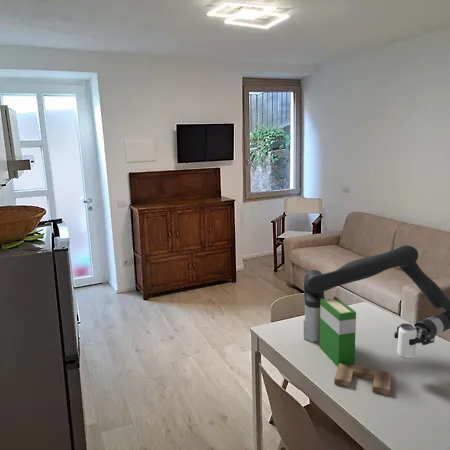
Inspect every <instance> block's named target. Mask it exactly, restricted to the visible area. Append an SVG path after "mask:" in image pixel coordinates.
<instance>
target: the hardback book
mask: <svg viewBox="0 0 450 450" xmlns="http://www.w3.org/2000/svg"><path fill="white" fill-rule="evenodd" d="M356 327H357V311H356V310H354V309H353V308H352V307H350V306H349V305H348V304H346V303H345V302H344V301H342V300H341V299H339V298H338V297H337V296H333V298H330V299H329V298H328V299H325V300H324V299H323V298H320V342H319V349H320V350H321V351H322V352H323V353H324V354H325V355H326V356H327V358H328V359H330V361H331V360H332V363H333V364H334V365H335V366H336V367H337V368H338V365H339V363H342V364H348V365H353V366H355V358H356V357H355V356H356V330H357V328H356Z"/></svg>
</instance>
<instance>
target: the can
mask: <svg viewBox="0 0 450 450" xmlns="http://www.w3.org/2000/svg"><path fill="white" fill-rule="evenodd" d="M403 323H404V322H403ZM403 323H401V324H400V325H399V326H400V328H399V332H398V338H397V348H396V349H397V351H396V353H397V354H398V356H399V357H401V358H403V359H407V360H409V359H414V358H415V357H416V350H417V349H416V348H417V344H415V345H409V340H410V339H415V338H416V337H417V331H416V327H415V326H414V325H415V324H414V325H413V324H412V323H404V324H403Z"/></svg>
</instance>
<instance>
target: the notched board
mask: <svg viewBox="0 0 450 450" xmlns="http://www.w3.org/2000/svg"><path fill="white" fill-rule="evenodd" d="M353 377H354V378H359V379H364V380H369V381H372V389H371V392H372V393H375V394H381V395H385V396H390V395H391V381H392V372H391V371H386V370H380V369H375V368H368V367H363V366H359V365H348V364H342V363H339V365H338V367H337V369H336V372H335V376H334V383H333V384H334V385H337V386H342V387H345V388H351V386H352V381H353Z"/></svg>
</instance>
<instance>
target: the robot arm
mask: <svg viewBox="0 0 450 450" xmlns="http://www.w3.org/2000/svg"><path fill="white" fill-rule="evenodd" d="M418 259H419V251H418V249H417V248H415V247H414V246H412V245H409V244H408V245H407V244H406V245H402V246H399V247H397V248H394V249H391V250H390V251H386V252H383V253H380V254H375V255H370V256H366V257H362V258H358V259H355V260H351V261H349V262H347V263H345V264H344V265H342V266H340V267H339V268H338V269H336V270H333V271H330V272H324V273H322V272H321V271H320V270H317V269H312V270H309V271H307V272H306V274H305V275H304V278H303V285H304V286H303V293H304V294H303V296H304V320H303V339H304V340H306V341H309V342H311V343H320V298H323V299H324V300H326V298H325V292H326V291H328V290H331V289H334V288H337V287H339V286H343V285H347V284H351V283H355V282H358V281H362V280H366V279H369V278H372V277H374V276H376V275H378V274H381V273H383V272H385V271H387V270H390V269H392V268H397V267H398V268H399V269H401V270H402V271H403V272H404V273H405V274H406V275H407V276H408V278H410V279H411V281H413V283H414V284H415V286H416V287H418V289H419V290H420V291H421V293H422V294H423V295H424V297H425V298H426V299H427V301H428V302H429V304H430V305H431V306H432V307H433V308H434V309H440V308H442V309H444V310H446V311H444V312H442V313H440V314H435V315H432V316H431V317H430V316H429V317H427V318H424V319H421V320H419V321H417V322H416V323H415V324H414V326H415V327H416V331H417V337H416V338H415V339H410V340H409V345H415V344H416V345H417V344H421V345H422V346H426V345H430V344H433V343H435V338H436V336H439V335H440V334H442V333H444V332H446V331H447V330H450V299H449V297H447V295H446V293H444V291H443V290H442V289H441V288H440V287H439V285H438V284H437V283H436V282H435V281H434V280H433V279H432V278H430V276H428V275H427V274H426V273H425V272H424V271H423V270H422V268H420V266H419V264H418V262H417V261H418ZM402 324H404V322H403V323H402ZM399 328H400V325H398V326H397V328H396V332H394V339H397V340H398V332H399Z"/></svg>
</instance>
